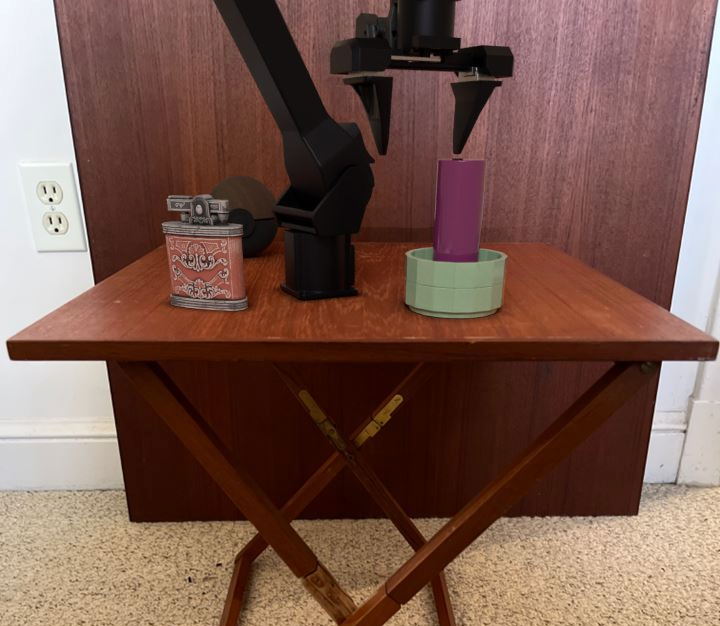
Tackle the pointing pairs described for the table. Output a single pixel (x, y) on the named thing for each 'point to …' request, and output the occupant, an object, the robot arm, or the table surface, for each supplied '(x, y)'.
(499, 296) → the bowl
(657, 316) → the table surface
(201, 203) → the lighter
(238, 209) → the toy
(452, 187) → the purple cylinder rod
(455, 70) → the robot arm
